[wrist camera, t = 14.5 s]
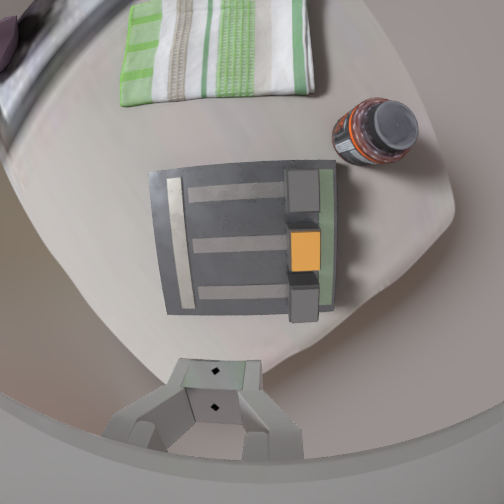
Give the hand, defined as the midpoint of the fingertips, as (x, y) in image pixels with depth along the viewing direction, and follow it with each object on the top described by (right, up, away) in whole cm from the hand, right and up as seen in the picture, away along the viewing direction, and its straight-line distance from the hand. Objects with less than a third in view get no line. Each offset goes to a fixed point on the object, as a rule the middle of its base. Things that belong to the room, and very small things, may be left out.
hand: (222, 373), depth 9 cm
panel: (0, +6, +22) cm, 23 cm away
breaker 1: (+6, +11, +18) cm, 22 cm away
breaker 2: (+6, 0, +21) cm, 22 cm away
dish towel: (-3, +30, +16) cm, 34 cm away
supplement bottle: (+13, +17, +18) cm, 28 cm away
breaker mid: (+6, +5, +19) cm, 21 cm away
